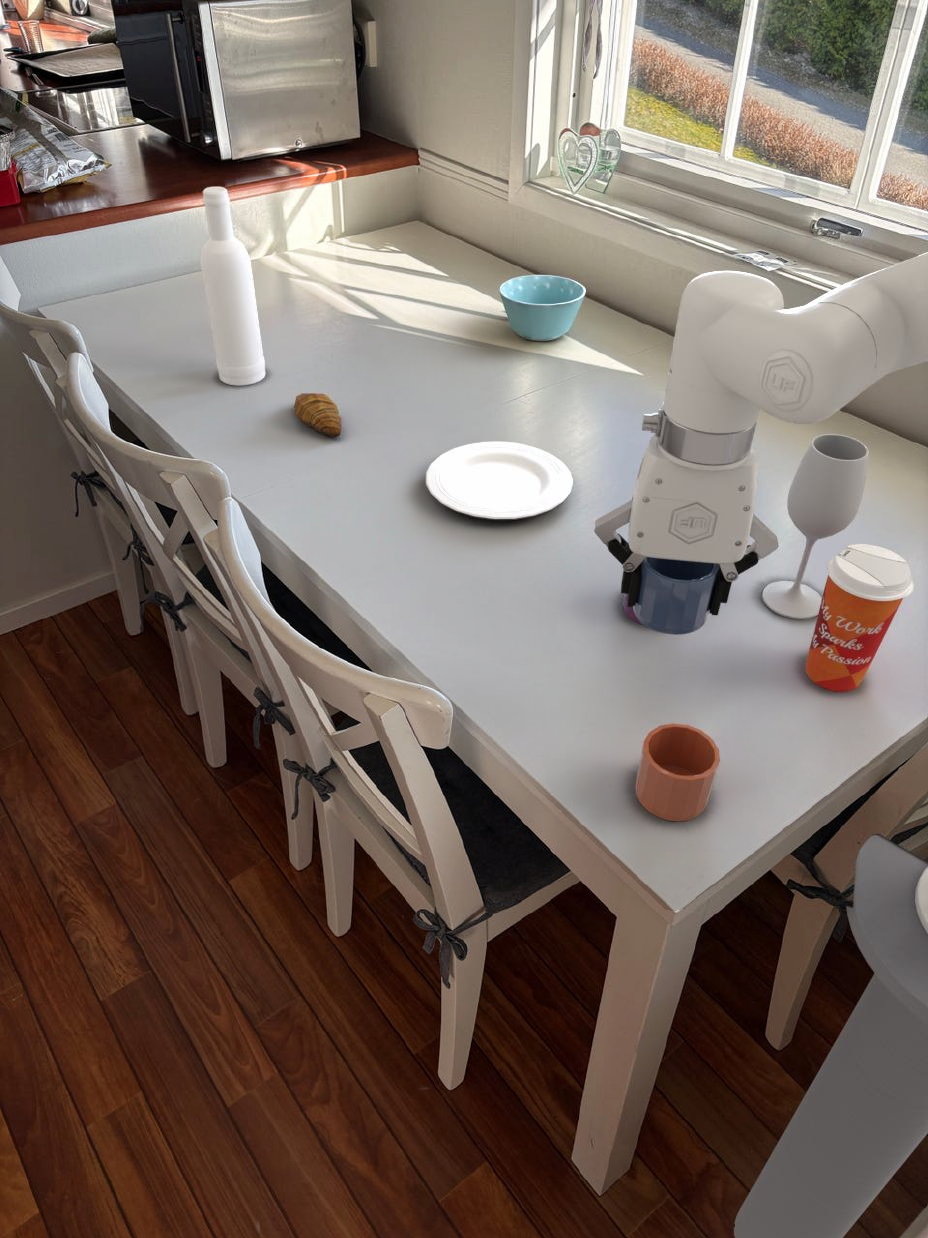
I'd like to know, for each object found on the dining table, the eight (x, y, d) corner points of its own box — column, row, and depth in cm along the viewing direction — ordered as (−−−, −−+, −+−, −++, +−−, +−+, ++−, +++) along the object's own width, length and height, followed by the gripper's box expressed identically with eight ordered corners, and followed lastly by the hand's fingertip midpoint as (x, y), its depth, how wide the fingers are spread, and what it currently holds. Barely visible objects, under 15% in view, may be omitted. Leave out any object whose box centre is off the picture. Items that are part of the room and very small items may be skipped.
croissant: (280, 410, 148) (276, 381, 145) (318, 400, 151) (315, 372, 148) (316, 446, 140) (313, 416, 136) (356, 435, 142) (354, 405, 139)
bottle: (272, 368, 160) (249, 183, 141) (257, 388, 154) (230, 198, 135) (228, 364, 161) (199, 180, 142) (211, 383, 155) (178, 194, 136)
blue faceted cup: (722, 616, 87) (735, 564, 83) (671, 644, 84) (682, 592, 80) (668, 580, 91) (678, 529, 87) (618, 606, 88) (626, 554, 84)
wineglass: (822, 626, 108) (876, 470, 95) (756, 611, 110) (799, 456, 97) (827, 589, 114) (878, 437, 100) (764, 575, 116) (806, 424, 102)
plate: (552, 446, 140) (553, 435, 139) (589, 522, 125) (590, 510, 123) (416, 457, 137) (416, 445, 136) (437, 535, 122) (436, 523, 120)
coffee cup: (781, 674, 102) (816, 564, 92) (815, 638, 107) (852, 531, 97) (853, 711, 98) (898, 601, 88) (885, 673, 102) (931, 564, 93)
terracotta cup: (722, 798, 88) (735, 756, 84) (672, 833, 85) (683, 791, 81) (669, 755, 93) (679, 713, 89) (620, 786, 89) (628, 744, 85)
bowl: (480, 330, 174) (481, 286, 169) (538, 309, 182) (540, 267, 177) (540, 356, 165) (544, 311, 160) (598, 333, 174) (603, 289, 168)
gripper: (597, 446, 73) (577, 618, 85) (822, 464, 72) (770, 637, 83) (600, 403, 79) (580, 570, 90) (808, 419, 77) (761, 587, 89)
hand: (671, 601), depth 87 cm, fingers closed on blue faceted cup, 7 cm apart
